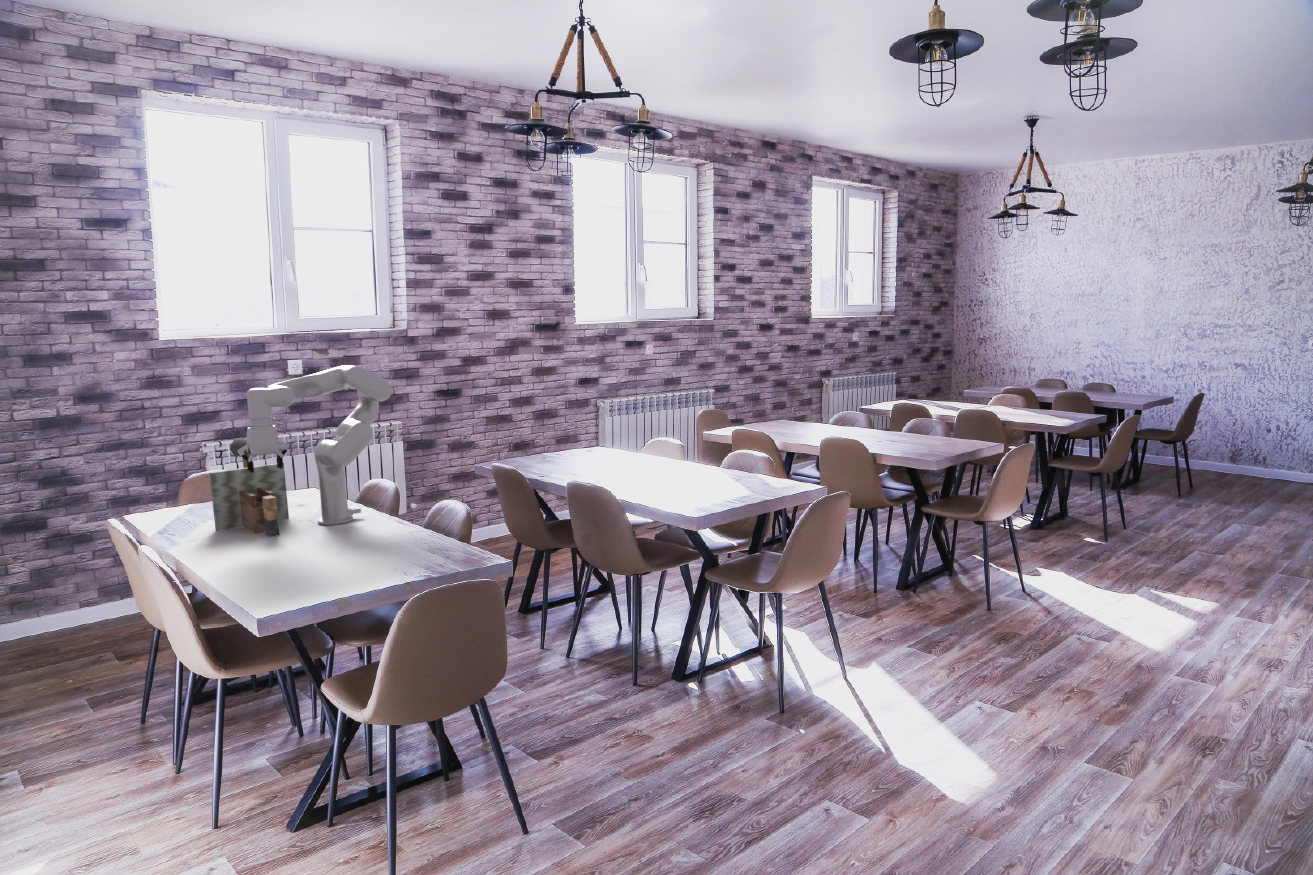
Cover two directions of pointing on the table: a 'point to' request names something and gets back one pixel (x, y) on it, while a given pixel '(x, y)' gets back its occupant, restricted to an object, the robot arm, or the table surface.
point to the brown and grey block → (270, 515)
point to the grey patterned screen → (247, 496)
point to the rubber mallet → (237, 445)
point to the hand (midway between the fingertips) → (265, 470)
